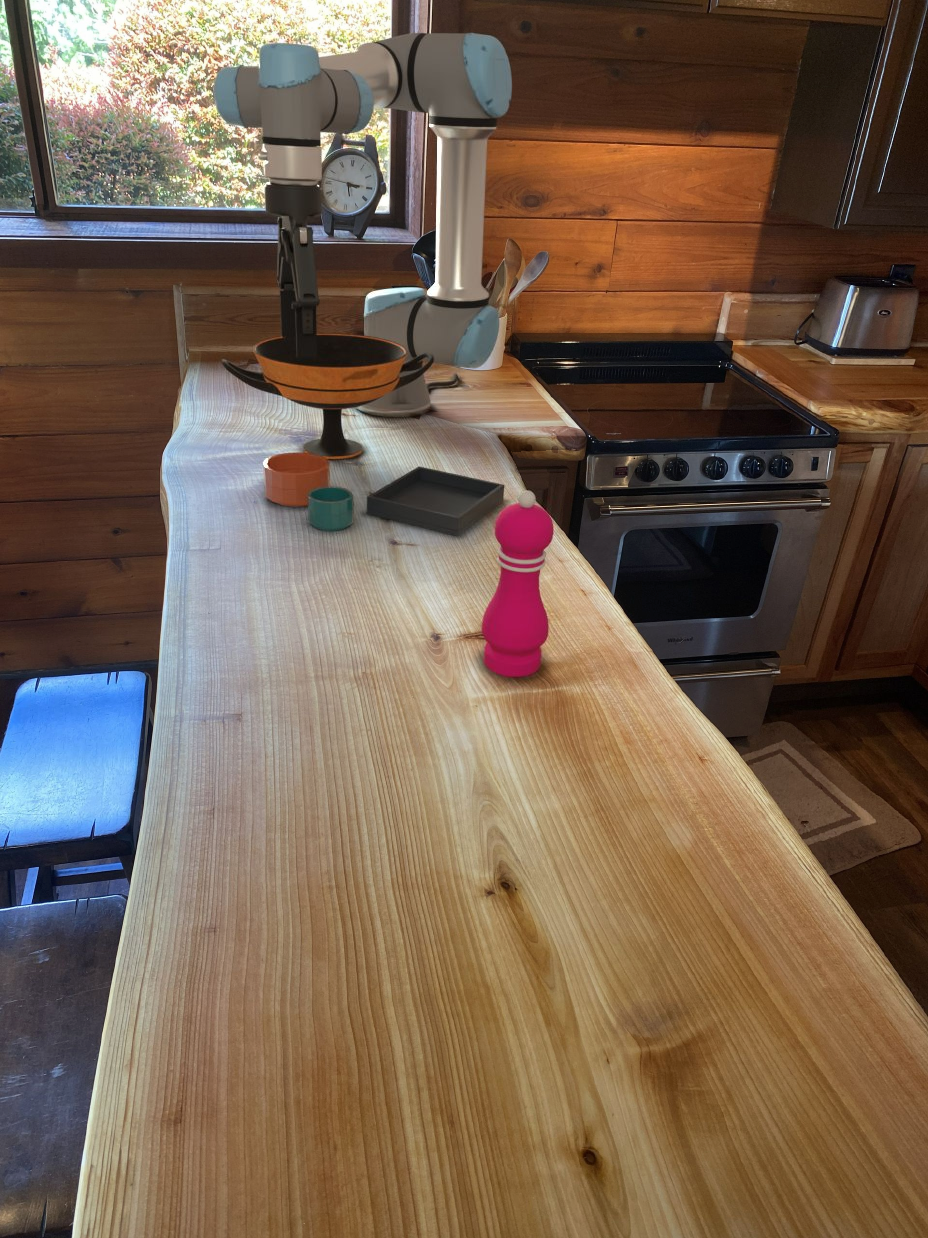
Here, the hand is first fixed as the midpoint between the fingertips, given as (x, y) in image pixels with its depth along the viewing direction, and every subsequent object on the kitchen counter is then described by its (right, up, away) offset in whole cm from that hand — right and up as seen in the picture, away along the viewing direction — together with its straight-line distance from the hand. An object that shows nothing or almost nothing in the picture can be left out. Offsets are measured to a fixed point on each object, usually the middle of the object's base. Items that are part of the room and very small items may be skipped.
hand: (298, 346), depth 129 cm
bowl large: (-2, -20, +10) cm, 23 cm away
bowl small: (+4, -25, +1) cm, 26 cm away
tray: (+20, -22, +9) cm, 31 cm away
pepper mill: (+29, -44, -30) cm, 61 cm away
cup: (0, -9, +30) cm, 32 cm away
